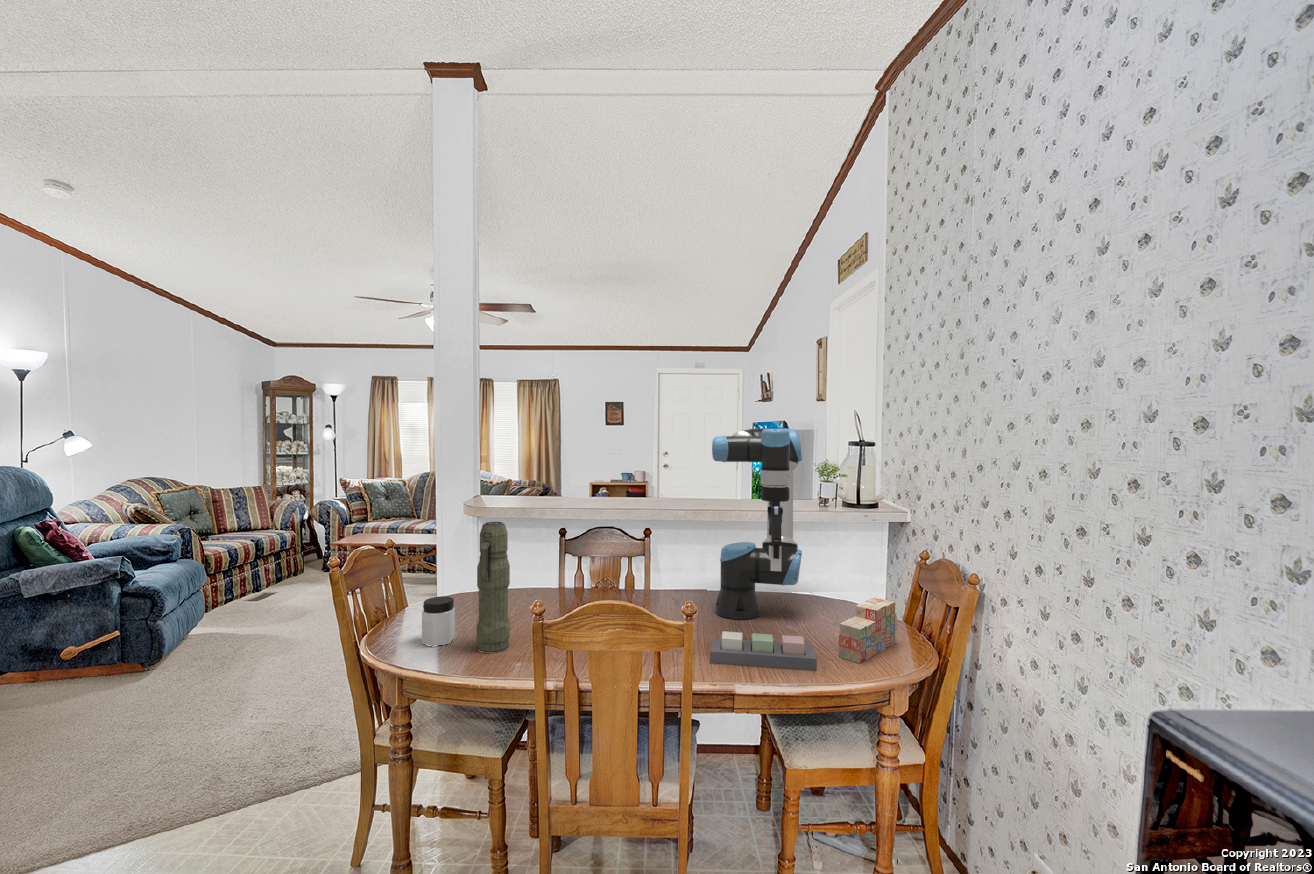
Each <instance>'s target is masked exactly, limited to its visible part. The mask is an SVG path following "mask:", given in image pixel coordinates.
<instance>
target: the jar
mask: <svg viewBox="0 0 1314 874" xmlns="http://www.w3.org/2000/svg"><path fill="white" fill-rule="evenodd" d="M454 600H455V599H454V598H453V597H452V596H446V595H445V596H443V595H441V596H433V597H429V598H427V599H425V600H424V601H423V607H422V608H423V610H422V612H421V644H422V643H424V644H428V645H431V646H435V645H441V644H445V643H450V644H451V643H452V642H453V641H454V640H453V639H454V638H456V606H454V604H455V603H454ZM452 640H453V641H452ZM451 641H452V642H451Z"/></svg>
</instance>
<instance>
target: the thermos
mask: <svg viewBox="0 0 1314 874" xmlns="http://www.w3.org/2000/svg"><path fill="white" fill-rule="evenodd" d="M506 527H507V526H506V523H503V522H501V521H487V522H485V523H483V524H482V526H481V530H480V532H479V561H478V564H477V566H476V567H477V568H476V573H477V574H476V577H477V578H476V586H477V589H478V622H477V624H476V642H477V646H476V650H477V649H478V650H480V651H483V652H497V653H499V652H498V651H501V652H503V651H502V650H504V651H505V650H508V649H507V648H509V647H510V637H511V636H510V635H511V634H510V633H511V632H510V629H511V628H510V627H511V626H510V619H509V616H508V615H509V610H508V609H509V599H508V598H509V586H510V584H511V582H510V581H511V580H510V576H511V575H510V571H511V570H510V567H511V566H510V565H511V564H510V561H509V557H508V553H507V552H508V539H509V538H508V530H507V528H506ZM478 650H477V651H478Z"/></svg>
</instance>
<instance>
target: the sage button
mask: <svg viewBox="0 0 1314 874" xmlns="http://www.w3.org/2000/svg"><path fill="white" fill-rule="evenodd" d="M751 640H752V652H767V653H773V642H774V639H773V634H770V633H768V634H767V633H757V632H756V633H754V632H753V633H751Z"/></svg>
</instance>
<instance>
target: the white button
mask: <svg viewBox="0 0 1314 874" xmlns="http://www.w3.org/2000/svg"><path fill="white" fill-rule="evenodd" d="M721 633H722V635H721V638H722V649H723V650H738V651H742V640H743V632H738V631H724V630H723V631H722V632H721Z"/></svg>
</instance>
